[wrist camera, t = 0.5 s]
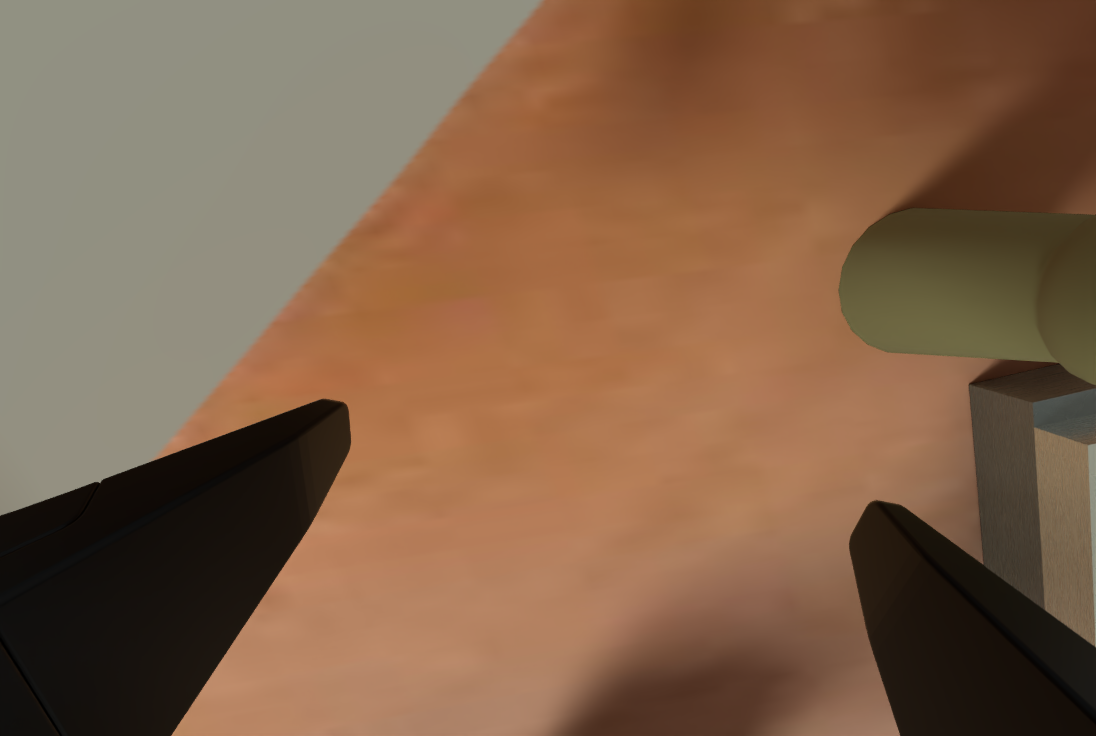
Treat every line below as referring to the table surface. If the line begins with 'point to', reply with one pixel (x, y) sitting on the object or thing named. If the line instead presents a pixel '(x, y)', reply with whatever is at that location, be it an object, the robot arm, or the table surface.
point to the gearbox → (1040, 488)
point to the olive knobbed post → (977, 286)
